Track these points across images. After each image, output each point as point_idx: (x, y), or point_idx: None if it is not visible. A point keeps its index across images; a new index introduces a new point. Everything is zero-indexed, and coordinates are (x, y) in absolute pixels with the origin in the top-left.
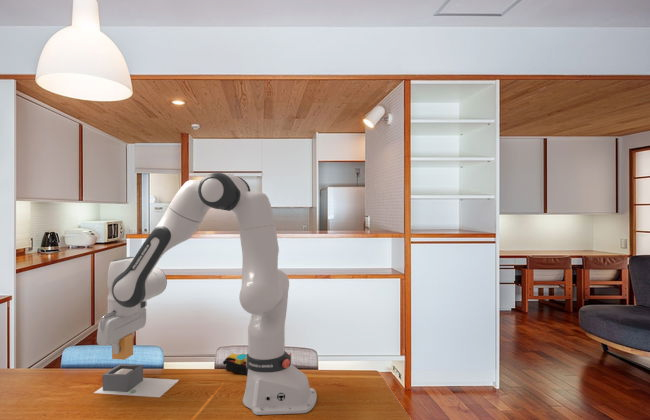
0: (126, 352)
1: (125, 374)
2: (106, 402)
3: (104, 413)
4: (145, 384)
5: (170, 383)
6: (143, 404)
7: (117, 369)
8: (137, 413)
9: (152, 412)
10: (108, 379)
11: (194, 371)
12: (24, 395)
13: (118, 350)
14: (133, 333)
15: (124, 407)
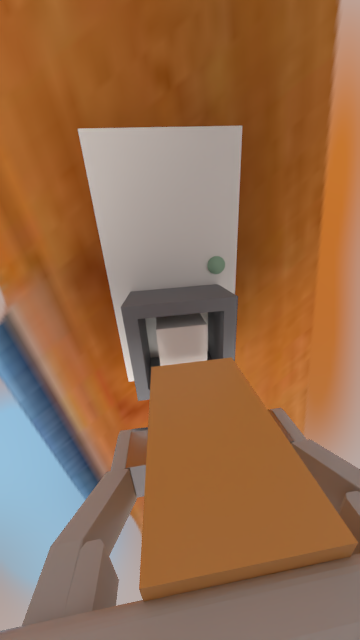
0: (228, 383)
1: (205, 324)
2: (257, 309)
3: (312, 272)
4: (157, 260)
5: (123, 154)
6: (265, 184)
7: None
8: (320, 164)
9: (318, 104)
10: None
11: None
12: None
13: (292, 422)
14: (68, 574)
15: (283, 238)
